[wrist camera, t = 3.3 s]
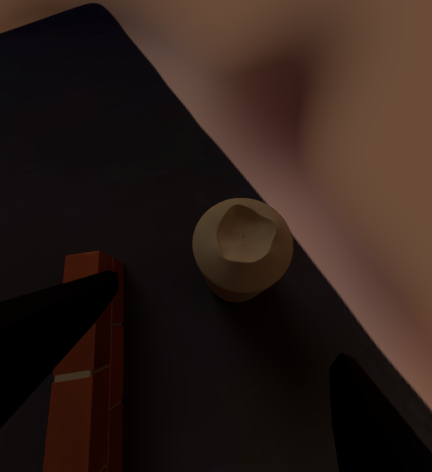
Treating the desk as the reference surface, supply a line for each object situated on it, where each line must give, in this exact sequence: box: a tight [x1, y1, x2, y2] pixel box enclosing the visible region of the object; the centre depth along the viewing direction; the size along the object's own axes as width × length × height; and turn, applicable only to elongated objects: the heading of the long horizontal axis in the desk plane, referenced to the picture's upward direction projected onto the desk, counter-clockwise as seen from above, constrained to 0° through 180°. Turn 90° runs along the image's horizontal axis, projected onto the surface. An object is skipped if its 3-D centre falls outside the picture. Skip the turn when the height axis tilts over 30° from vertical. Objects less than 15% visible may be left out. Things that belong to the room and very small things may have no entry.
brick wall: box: [42, 251, 124, 472], centre depth 14 cm, size 22×3×4 cm, turn 8°
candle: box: [193, 198, 293, 302], centre depth 15 cm, size 6×6×10 cm
